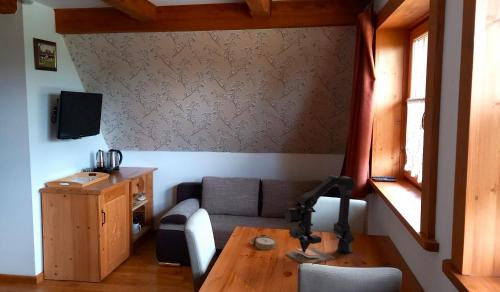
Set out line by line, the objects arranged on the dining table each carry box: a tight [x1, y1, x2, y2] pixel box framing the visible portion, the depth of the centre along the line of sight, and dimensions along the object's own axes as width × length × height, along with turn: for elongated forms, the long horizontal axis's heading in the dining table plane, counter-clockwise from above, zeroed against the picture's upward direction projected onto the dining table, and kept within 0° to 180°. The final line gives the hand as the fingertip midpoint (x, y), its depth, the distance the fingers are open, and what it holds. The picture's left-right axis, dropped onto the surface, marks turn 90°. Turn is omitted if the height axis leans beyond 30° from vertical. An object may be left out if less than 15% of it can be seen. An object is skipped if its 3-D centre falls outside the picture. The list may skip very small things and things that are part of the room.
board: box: [285, 246, 335, 265], centre depth 195 cm, size 18×16×1 cm
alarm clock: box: [251, 234, 279, 251], centre depth 211 cm, size 11×5×15 cm
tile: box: [295, 248, 319, 258], centre depth 194 cm, size 7×10×1 cm
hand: (303, 251), depth 193 cm, fingers closed, pressing on tile
